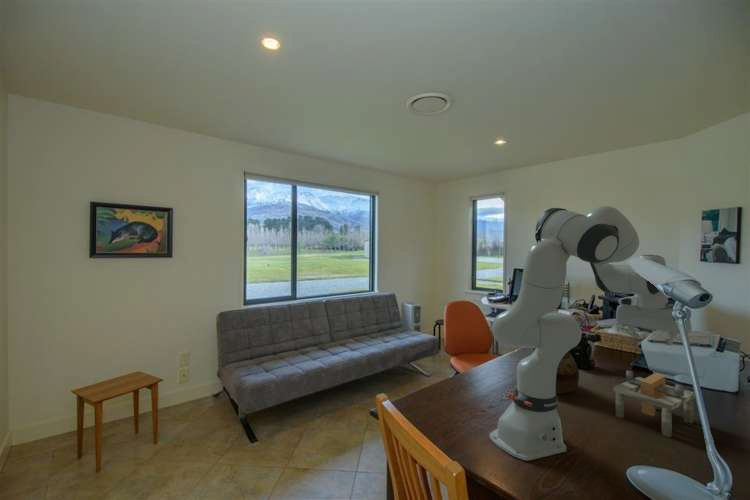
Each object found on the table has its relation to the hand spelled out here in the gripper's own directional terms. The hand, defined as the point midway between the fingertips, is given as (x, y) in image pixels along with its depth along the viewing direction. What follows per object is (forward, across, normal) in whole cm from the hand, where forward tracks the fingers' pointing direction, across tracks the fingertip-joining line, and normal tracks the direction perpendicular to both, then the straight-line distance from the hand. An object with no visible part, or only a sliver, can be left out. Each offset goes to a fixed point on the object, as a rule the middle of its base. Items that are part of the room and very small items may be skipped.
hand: (651, 341), depth 112 cm
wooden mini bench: (+24, 0, -1) cm, 24 cm away
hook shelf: (+26, 0, 0) cm, 27 cm away
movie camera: (+26, +47, -29) cm, 61 cm away
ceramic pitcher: (+27, +33, +6) cm, 43 cm away
